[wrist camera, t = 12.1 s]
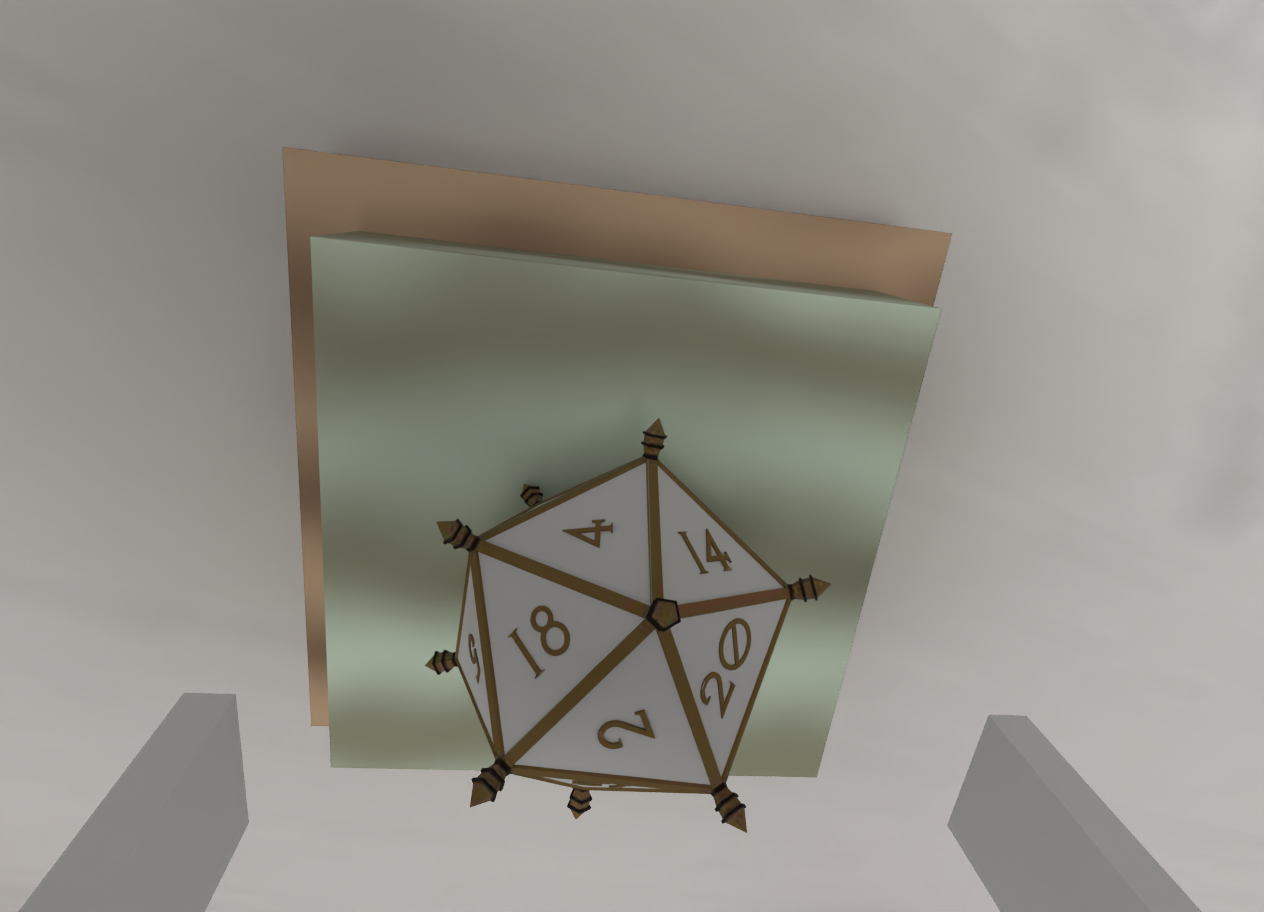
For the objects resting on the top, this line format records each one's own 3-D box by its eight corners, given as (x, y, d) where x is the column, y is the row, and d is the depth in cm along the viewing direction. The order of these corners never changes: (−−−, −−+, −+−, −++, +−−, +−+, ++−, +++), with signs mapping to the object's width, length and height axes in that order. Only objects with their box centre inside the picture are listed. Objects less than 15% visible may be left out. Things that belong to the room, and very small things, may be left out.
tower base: (329, 156, 23) (212, 132, 15) (894, 229, 25) (1034, 239, 18) (343, 659, 29) (267, 814, 22) (789, 676, 32) (858, 822, 24)
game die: (587, 441, 22) (662, 280, 13) (776, 624, 22) (995, 595, 12) (368, 647, 19) (259, 632, 10) (583, 867, 19) (683, 1070, 9)
